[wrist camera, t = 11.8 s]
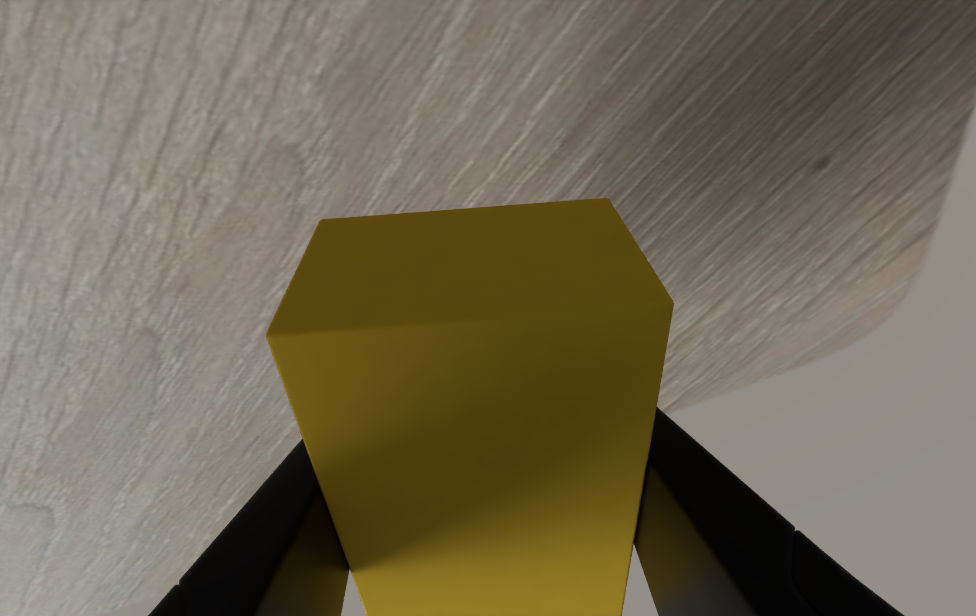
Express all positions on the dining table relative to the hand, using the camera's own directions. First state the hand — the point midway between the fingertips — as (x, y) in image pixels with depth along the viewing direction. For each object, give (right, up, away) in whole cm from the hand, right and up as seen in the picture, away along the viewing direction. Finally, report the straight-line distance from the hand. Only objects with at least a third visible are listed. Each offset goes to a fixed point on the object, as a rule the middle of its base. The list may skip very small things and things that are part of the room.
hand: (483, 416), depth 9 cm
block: (0, +1, +1) cm, 1 cm away
